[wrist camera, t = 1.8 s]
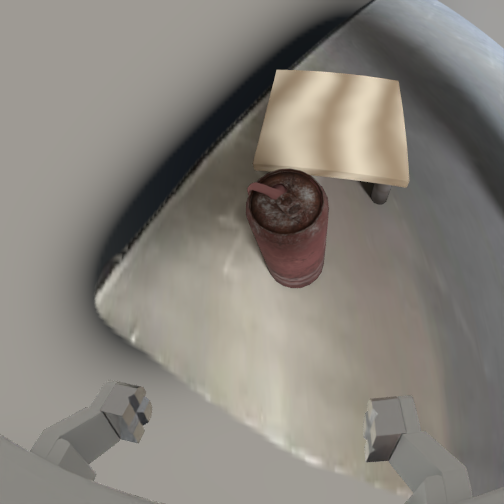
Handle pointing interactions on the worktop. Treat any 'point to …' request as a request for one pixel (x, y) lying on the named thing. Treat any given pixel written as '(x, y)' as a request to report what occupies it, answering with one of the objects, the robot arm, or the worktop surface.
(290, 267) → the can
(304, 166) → the small table
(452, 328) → the worktop surface
